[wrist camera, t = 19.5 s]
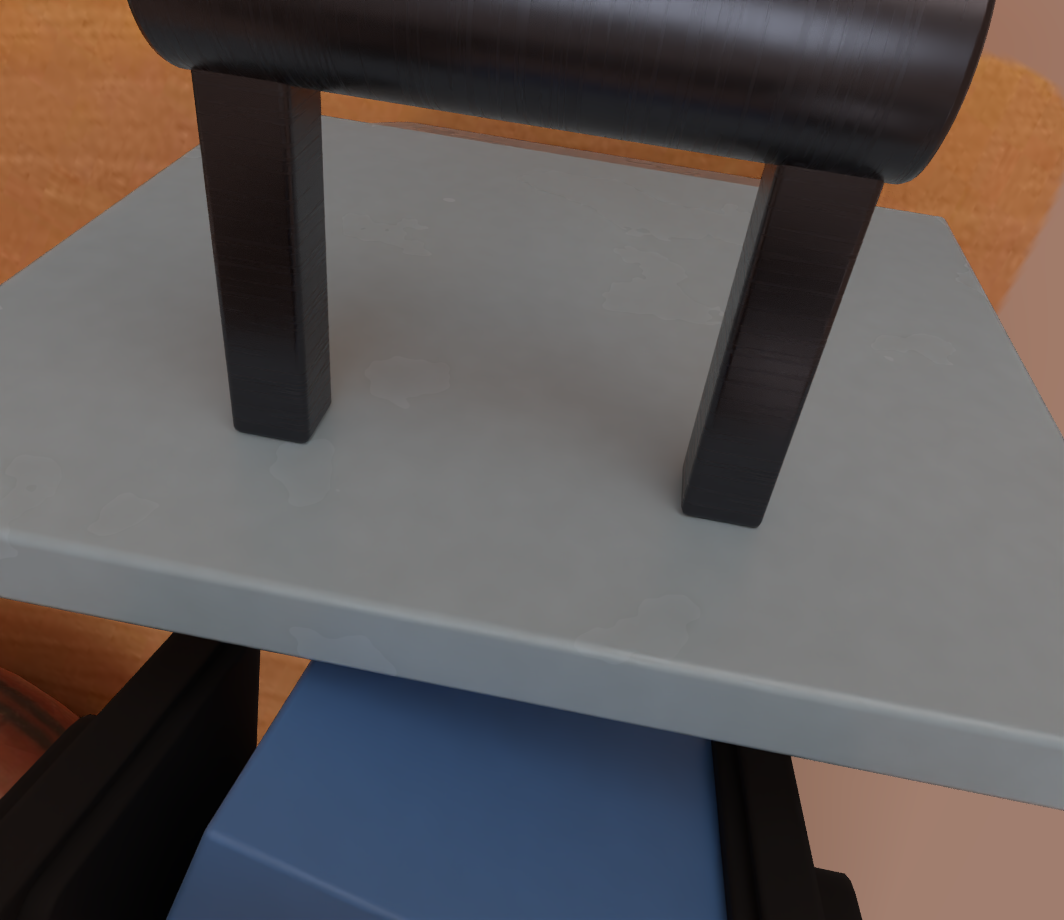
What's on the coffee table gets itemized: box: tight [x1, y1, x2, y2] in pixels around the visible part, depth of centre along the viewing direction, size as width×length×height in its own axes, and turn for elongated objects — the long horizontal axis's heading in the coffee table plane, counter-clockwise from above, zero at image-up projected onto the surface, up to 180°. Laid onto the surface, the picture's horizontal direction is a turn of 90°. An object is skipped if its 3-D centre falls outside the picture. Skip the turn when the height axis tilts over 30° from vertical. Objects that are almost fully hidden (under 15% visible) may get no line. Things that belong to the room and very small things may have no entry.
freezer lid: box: [0, 0, 1064, 811], centre depth 9 cm, size 10×11×5 cm
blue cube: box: [166, 660, 727, 920], centre depth 8 cm, size 4×4×4 cm
